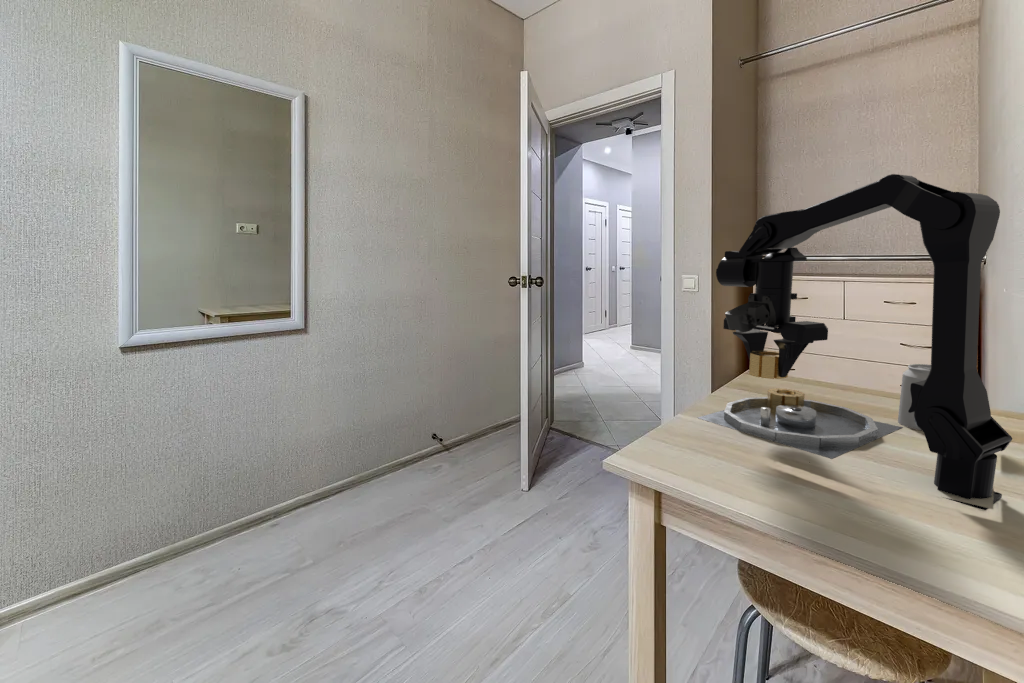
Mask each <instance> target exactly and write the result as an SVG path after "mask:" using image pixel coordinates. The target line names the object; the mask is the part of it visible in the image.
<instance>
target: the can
mask: <svg viewBox="0 0 1024 683" xmlns="http://www.w3.org/2000/svg"><path fill="white" fill-rule="evenodd" d="M930 369H931V364H928V363H927V364H925V363H921V364H920V363H918V364H917V363H913V364H912V363H911V364H908V365H907V369H906V370H905V371H903V372H902V378H901V387H900V395H899V396H900V397H899V405H898V415H897V423H898V424H899V425H901V426H902V427H906V428H908V429H909V428H910V429H913V430H918V431H922V430H921V429H920V428H919V427H917V425H916V423H915V419H914V412H912V413H909V412H908V410H909V409H910V407H911V403H912V397H911V391H910V387H911V384H912V383H915V382H919V381H923V380H926V379H927V377H928V375H929V373H930Z"/></svg>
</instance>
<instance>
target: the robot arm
mask: <svg viewBox="0 0 1024 683" xmlns="http://www.w3.org/2000/svg"><path fill="white" fill-rule="evenodd" d="M889 208H893V209H895V210H896V211H897V212H898V213H900V214H902V215H904V216H906V217H908V218H910V219H913V220H914V221H917V222H919V225H920V226H919V227H920V231H921V237H922V242H923V246H924V247H925V249H926V252H927V254H928V255H929V257H930V260H931V262H932V264H933V285H932V286H933V287H932V288H933V290H932V291H933V292H932V315H931V316H932V317H931V318H932V320H931V322H932V323H931V350H930V351H931V352H930V355H931V356H930V365H931V369H930V373H929V375H928V377H927V379H926V380H923V381H919V382H915V383H912V384H911V387H910V391H911V397H912V403H911V407H910V409H909V410H908V412H909V413H912V412H914V419H915V423H916V425H917V427H919V428H920V429H921V430H920V431H922V432H923V433H924V437H925V439H926V443H927V446H928V449H929V452H931V453H935V454H937V455H936V462H935V463H936V464H935V469H934V470H935V472H934V479H933V483H934V486H935V487H937V491H939V492H943V493H946V494H950V495H953V496H957V497H959V498H963V499H965V500H972V499H979V500H980V499H989V498H991V497H993V498H992V499H993V500H992V501H993V502H992V505H995V504H996V503H997V502H999V500H1001V499H1002V497H1003V494H1002V493H1000V492H998V491H996V490H995V491H993V489H994V482H995V475H996V469H997V468H996V467H997V462H998V455H997V454H996V453H999V452H1003V451H1005V450H1006V449H1007V447H1008V446H1009V445H1010V443H1011V442H1012V441H1013V437H1012V435H1010V434H1009V432H1008V431H1007V430H1005V428H1003V427H1002V426H1001V424H1000V423H999V422H998V421H997V420H996V419H994V418H993V416H992V412H991V407H990V400H989V396H988V391H987V389H986V386H985V384H984V382H983V381H982V378H981V377H980V375H979V372H978V368H977V367H978V351H979V350H978V349H979V348H978V346H979V344H978V343H979V321H980V319H979V318H980V300H981V299H980V298H981V273H982V272H981V270H982V262H983V259H984V258H985V256H986V254H987V253H988V250H989V248H990V246H991V245H992V242H993V240H994V237H995V236H996V235H995V234H996V230H997V227H998V224H999V218H1000V214H1001V209H1000V205H999V203H998V202H997V200H994V199H993V198H992V197H991V196H989V195H986V194H983V193H977V192H976V193H975V192H963V191H953V190H948V189H946V188H943V187H940V186H936V185H934V184H930V183H927V182H925V181H922V180H920V179H918V178H917V177H916V176H913V175H907V174H896V173H892V174H887V175H885V176H884V177H882V178H880V179H879V180H876V181H874V182H871V183H868V184H866V185H864V186H860V187H858V188H855V189H853V190H851V191H847V192H845V193H843V194H840V195H837V196H835V197H832V198H829V199H827V200H824V201H822V202H818V203H816V204H814V205H811V206H808V207H806V208H803V209H798V210H791V211H784V212H778V213H777V212H776V213H773V214H767V215H763V216H761V217H759V218H757V220H756V221H755V224H754V226H753V228H752V231H751V232H750V234H749V236H748V237H747V239H746V240H745V242H744V243H743V245H742V246H741V248H740V249H739V250H726V251H725V252H724V257H723V258H722V259H721V260H720V261H719V263H718V265H717V268H716V271H715V275H716V279H717V282H718V283H719V284H720V285H721V286H723V287H742V288H743V287H744V288H745V287H746V288H752V287H753V286H755V292H753V293H749V295H748V300H747V303H743V304H740V305H738V306H736V307H734V308H732V309H730V310H727V311H726V312H725V313H724V315H725V317H724V319H723V330H728V331H732V334H733V335H734V336H736V337H737V338H738V339H740V340H741V341H742V343H743V346H744V348H745V350H746V353H747V357H748V360H749V361H750V353H751V351H759V350H762V351H764V350H765V346H766V344H767V339H768V338H767V337H768V335H769V332H770V333H777V334H780V336H781V337H782V338H779V339H773V342H774V343H775V345H776V346H777V348H778V351H779V376H780V377H786V376H787V374H788V375H789V372H790V371H791V369H792V368H793V366H794V365H795V363H796V361H797V360H798V359H799V357H800V356H801V354H802V353H803V352H804V350H805V349H806V348H807V346H809V345H810V344H813V343H814V342H817V341H828V336H829V327H827V325H826V324H825V323H824V322H817V321H816V322H815V321H809V320H802V321H796V319H797V318H796V316H793V315H791V308H792V307H791V306H792V305H791V304H792V300H797V299H798V293H796V292H795V293H793V292H792V291H793V290H792V289H793V275H794V274H793V273H794V262H805V261H807V260H808V259H807V258H808V257H807V256H805V254H803V253H802V252H800V250H799V249H798V247H795V246H798V245H799V244H801V243H803V242H805V241H807V240H809V239H810V238H811V237H812V236H813V235H815V234H817V233H819V232H820V231H822V230H825V229H829V228H832V227H835V226H837V225H841V224H843V223H847V222H850V221H853V220H855V219H856V220H857V219H858V218H862V217H865V216H869V215H871V214H873V213H877V212H881V211H883V210H887V209H889ZM782 250H785V251H782ZM763 256H764V258H763ZM786 378H787V377H786ZM942 498H944V499H946V500H950V501H953V502H957V503H959V504H962V505H966V506H969V507H971V508H972V507H973V508H975V509H979V510H984V511H987V510H988V509H989V507H987V506H986V507H985V506H982V505H977V504H973V503H969V502H965V501H962V500H961V501H960V500H956V499H952V498H948V497H944V496H942Z"/></svg>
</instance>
